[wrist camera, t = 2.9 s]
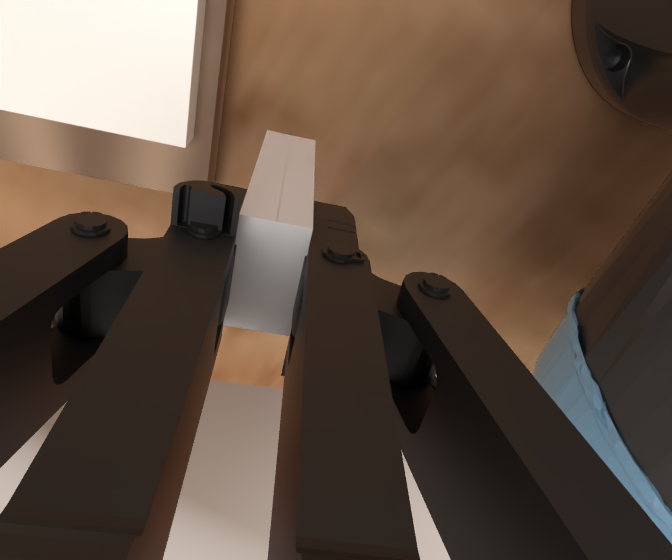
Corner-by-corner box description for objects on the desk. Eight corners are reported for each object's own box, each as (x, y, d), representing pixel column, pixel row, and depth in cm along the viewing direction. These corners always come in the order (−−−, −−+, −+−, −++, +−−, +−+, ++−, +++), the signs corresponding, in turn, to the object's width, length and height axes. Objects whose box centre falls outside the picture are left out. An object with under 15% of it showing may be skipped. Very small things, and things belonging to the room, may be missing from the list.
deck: (243, -76, 27) (235, -81, 25) (214, 182, 34) (205, 199, 31) (-5, -141, 26) (-42, -154, 23) (15, 142, 32) (-11, 157, 30)
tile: (206, -2, 26) (197, 0, 24) (193, 137, 30) (185, 147, 28) (-10, -55, 25) (-35, -57, 23) (2, 97, 28) (-18, 105, 27)
